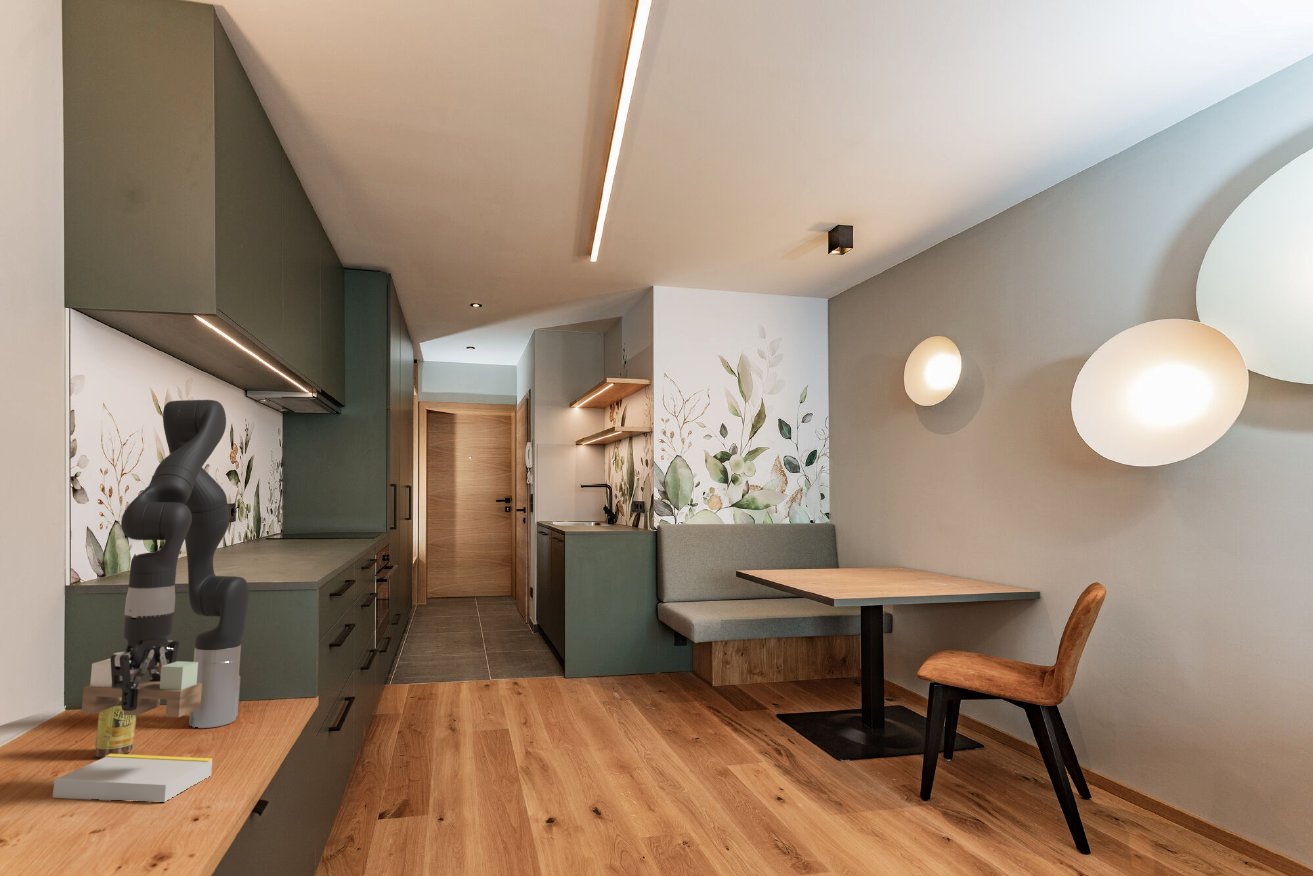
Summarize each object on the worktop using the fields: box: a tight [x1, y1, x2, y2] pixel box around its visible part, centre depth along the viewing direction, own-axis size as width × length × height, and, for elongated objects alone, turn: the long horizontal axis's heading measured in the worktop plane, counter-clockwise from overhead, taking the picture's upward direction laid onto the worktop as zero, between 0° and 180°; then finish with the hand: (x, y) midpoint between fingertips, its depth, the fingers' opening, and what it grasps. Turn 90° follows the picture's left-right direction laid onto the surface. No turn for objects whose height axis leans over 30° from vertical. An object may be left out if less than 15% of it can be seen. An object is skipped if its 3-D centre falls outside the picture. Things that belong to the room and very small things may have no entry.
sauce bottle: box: [94, 651, 138, 759], centre depth 145 cm, size 6×6×20 cm
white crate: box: [89, 658, 122, 687], centre depth 131 cm, size 4×4×4 cm
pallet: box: [80, 680, 202, 718], centre depth 130 cm, size 6×18×4 cm, turn 87°
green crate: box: [160, 660, 198, 690], centre depth 130 cm, size 4×4×4 cm
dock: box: [52, 753, 213, 802], centre depth 129 cm, size 12×20×3 cm, turn 87°
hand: (142, 704), depth 130 cm, fingers closed on pallet, 5 cm apart
